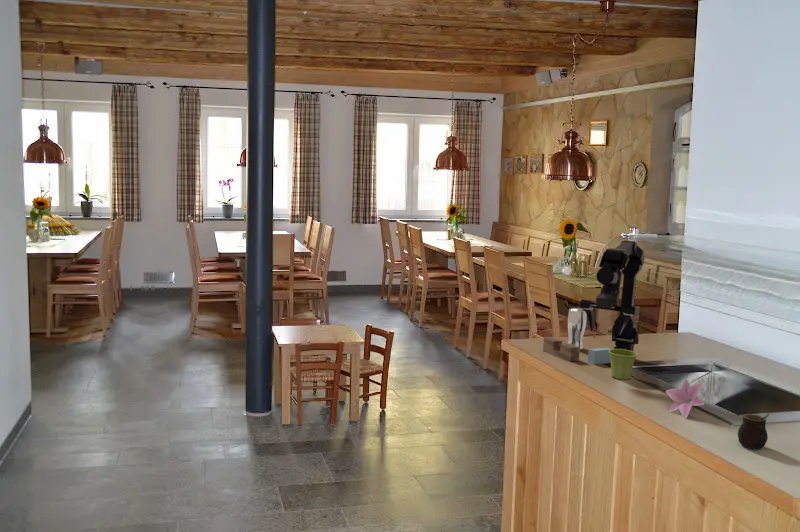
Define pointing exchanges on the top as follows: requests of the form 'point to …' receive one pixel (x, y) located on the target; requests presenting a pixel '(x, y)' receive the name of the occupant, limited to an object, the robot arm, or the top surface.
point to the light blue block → (599, 356)
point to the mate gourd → (753, 431)
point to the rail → (561, 349)
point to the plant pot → (622, 363)
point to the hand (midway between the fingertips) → (605, 333)
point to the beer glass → (576, 326)
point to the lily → (685, 397)
